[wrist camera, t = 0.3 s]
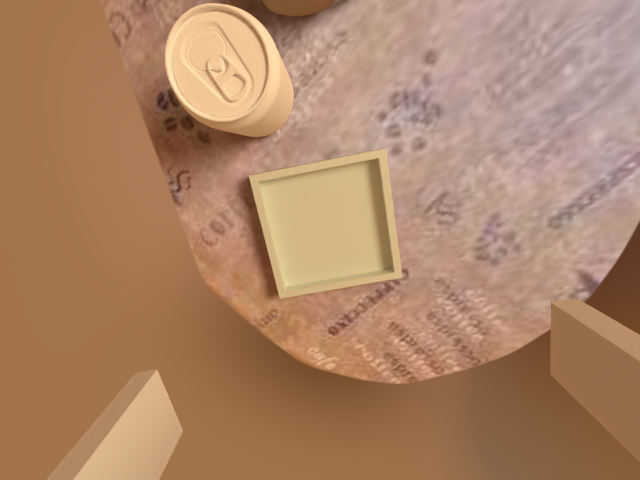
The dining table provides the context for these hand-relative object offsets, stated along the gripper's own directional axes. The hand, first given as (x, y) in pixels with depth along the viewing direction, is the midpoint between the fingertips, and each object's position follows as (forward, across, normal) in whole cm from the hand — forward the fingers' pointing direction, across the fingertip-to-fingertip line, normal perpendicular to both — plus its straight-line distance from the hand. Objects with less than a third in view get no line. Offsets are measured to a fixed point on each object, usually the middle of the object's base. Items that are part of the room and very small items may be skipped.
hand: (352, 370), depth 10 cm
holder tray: (+26, 0, -1) cm, 26 cm away
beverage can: (+26, -5, +14) cm, 30 cm away
